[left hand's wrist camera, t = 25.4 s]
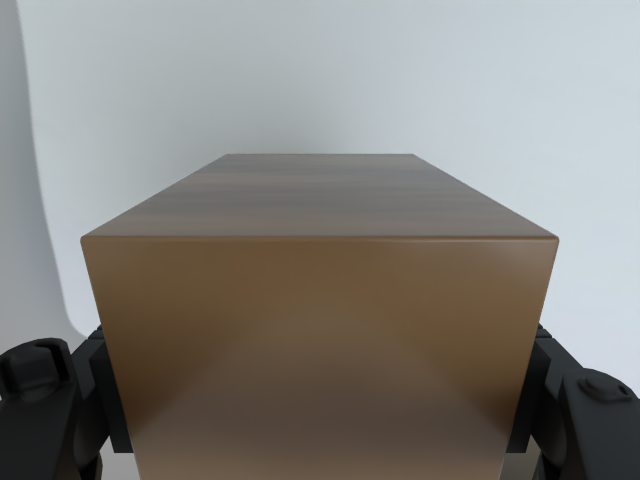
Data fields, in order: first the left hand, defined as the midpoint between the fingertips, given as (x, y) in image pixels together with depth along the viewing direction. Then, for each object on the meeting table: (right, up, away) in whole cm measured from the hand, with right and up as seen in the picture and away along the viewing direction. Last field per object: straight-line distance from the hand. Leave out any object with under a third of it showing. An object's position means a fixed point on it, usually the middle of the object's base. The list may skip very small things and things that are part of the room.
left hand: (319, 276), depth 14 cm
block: (0, +1, +3) cm, 3 cm away
